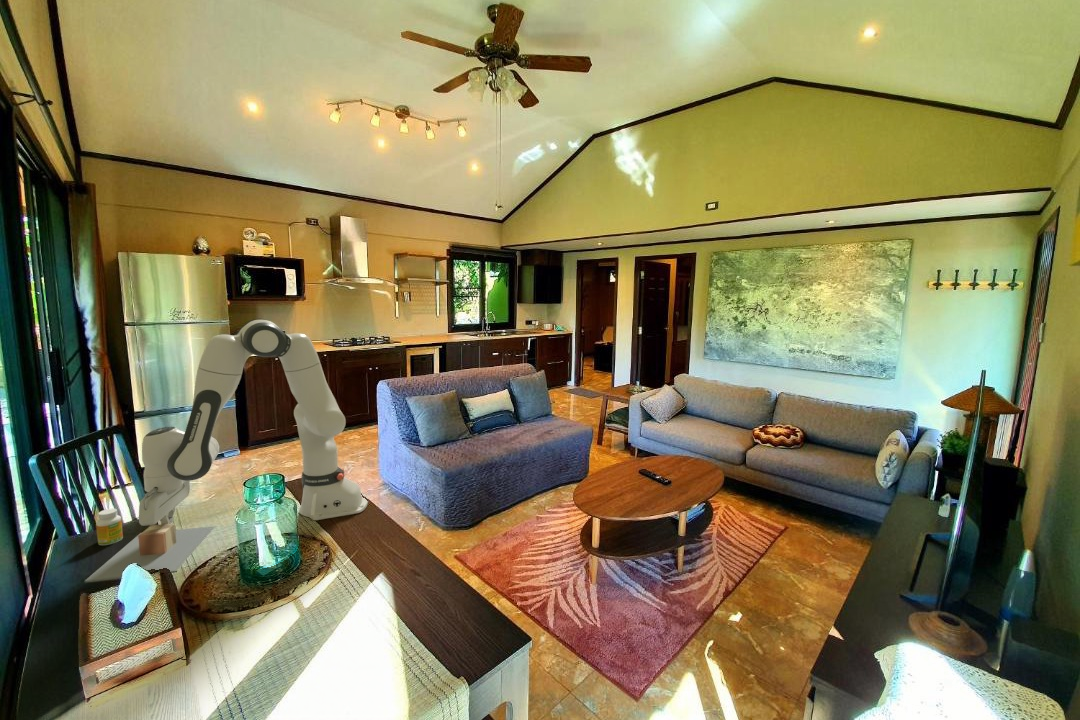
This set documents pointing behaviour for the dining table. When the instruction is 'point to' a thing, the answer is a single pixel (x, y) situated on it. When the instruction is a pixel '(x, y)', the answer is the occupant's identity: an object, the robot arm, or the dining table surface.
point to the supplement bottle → (109, 527)
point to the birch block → (157, 539)
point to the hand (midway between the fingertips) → (167, 524)
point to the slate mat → (171, 559)
